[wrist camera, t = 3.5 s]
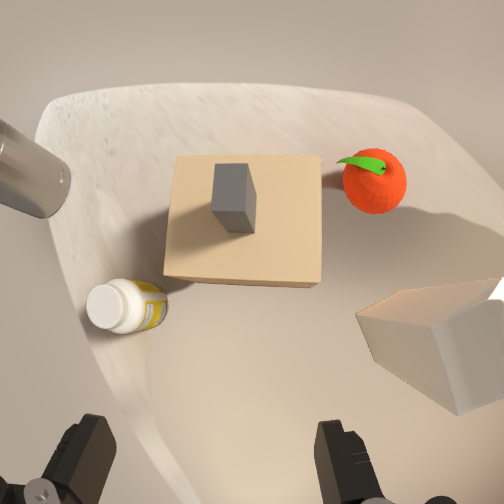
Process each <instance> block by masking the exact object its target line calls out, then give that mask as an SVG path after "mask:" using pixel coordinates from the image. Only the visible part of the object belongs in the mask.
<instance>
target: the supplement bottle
mask: <svg viewBox="0 0 504 504" xmlns="http://www.w3.org/2000/svg"><path fill="white" fill-rule="evenodd" d="M86 309H87V314H88V316H89V318H90V320H91V321H92V323H93V324H94V325H96V326H97V327H99V328H102V329H108V330H110V331H111V332H114V333H117V334H127V333H132V332H137V331H142V330H147V329H151V328H154V327H156V326H158V325H160V324H161V323H162V322H163V321H164V319H165V318H166V315H167V313H168V299H167V296H166V294H165V292H164V291H163V290H162V289H161V288H160V287H159V286H158V285H156V284H154V283H151V282H146V281H137V280H130V279H122V278H118V279H113V280H110V281H109V282H107V283H106V284H100V285H97V286H96V287H94V288H93V289H92V290H91V291H90V293H89V295H88V297H87V302H86Z"/></svg>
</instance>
